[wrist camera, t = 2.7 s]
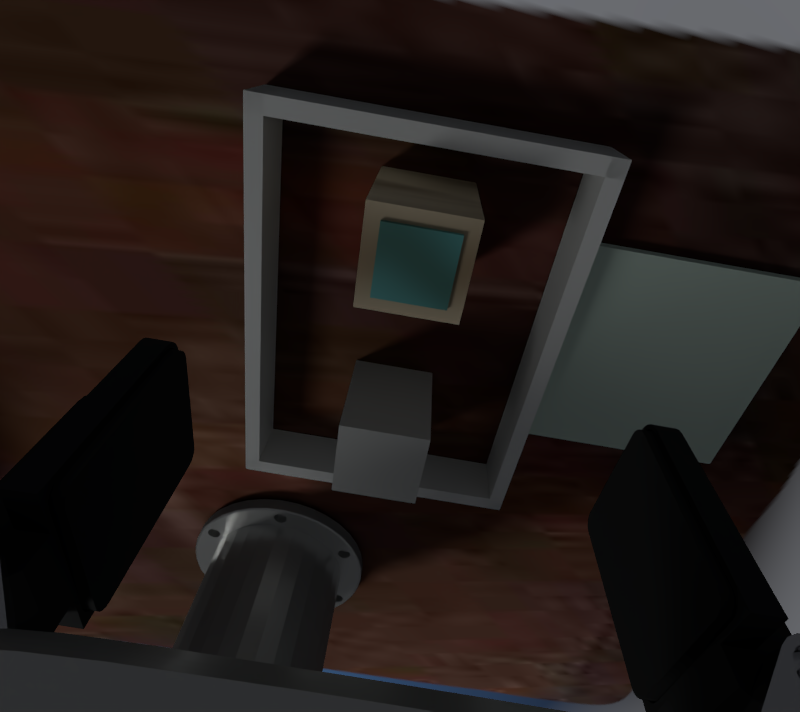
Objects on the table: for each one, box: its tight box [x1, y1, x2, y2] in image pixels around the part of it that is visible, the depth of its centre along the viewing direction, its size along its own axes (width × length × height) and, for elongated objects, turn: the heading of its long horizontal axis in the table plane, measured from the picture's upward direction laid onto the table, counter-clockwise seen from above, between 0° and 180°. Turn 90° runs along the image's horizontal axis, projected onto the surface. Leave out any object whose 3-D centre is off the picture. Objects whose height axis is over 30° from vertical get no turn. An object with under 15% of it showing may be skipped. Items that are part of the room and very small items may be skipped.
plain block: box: [332, 360, 432, 504], centre depth 29 cm, size 4×4×6 cm
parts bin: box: [243, 84, 632, 510], centre depth 27 cm, size 21×16×3 cm
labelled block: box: [353, 166, 485, 325], centre depth 23 cm, size 4×4×6 cm
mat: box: [529, 243, 800, 464], centre depth 28 cm, size 12×12×1 cm
